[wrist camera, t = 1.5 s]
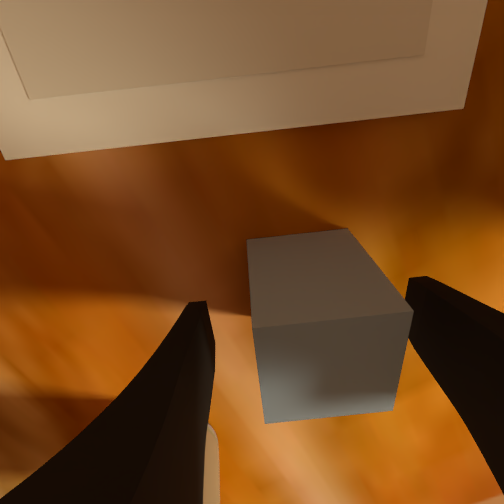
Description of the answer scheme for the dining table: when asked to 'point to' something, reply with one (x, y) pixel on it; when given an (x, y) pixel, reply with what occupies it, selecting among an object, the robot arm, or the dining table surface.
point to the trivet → (222, 67)
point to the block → (324, 327)
